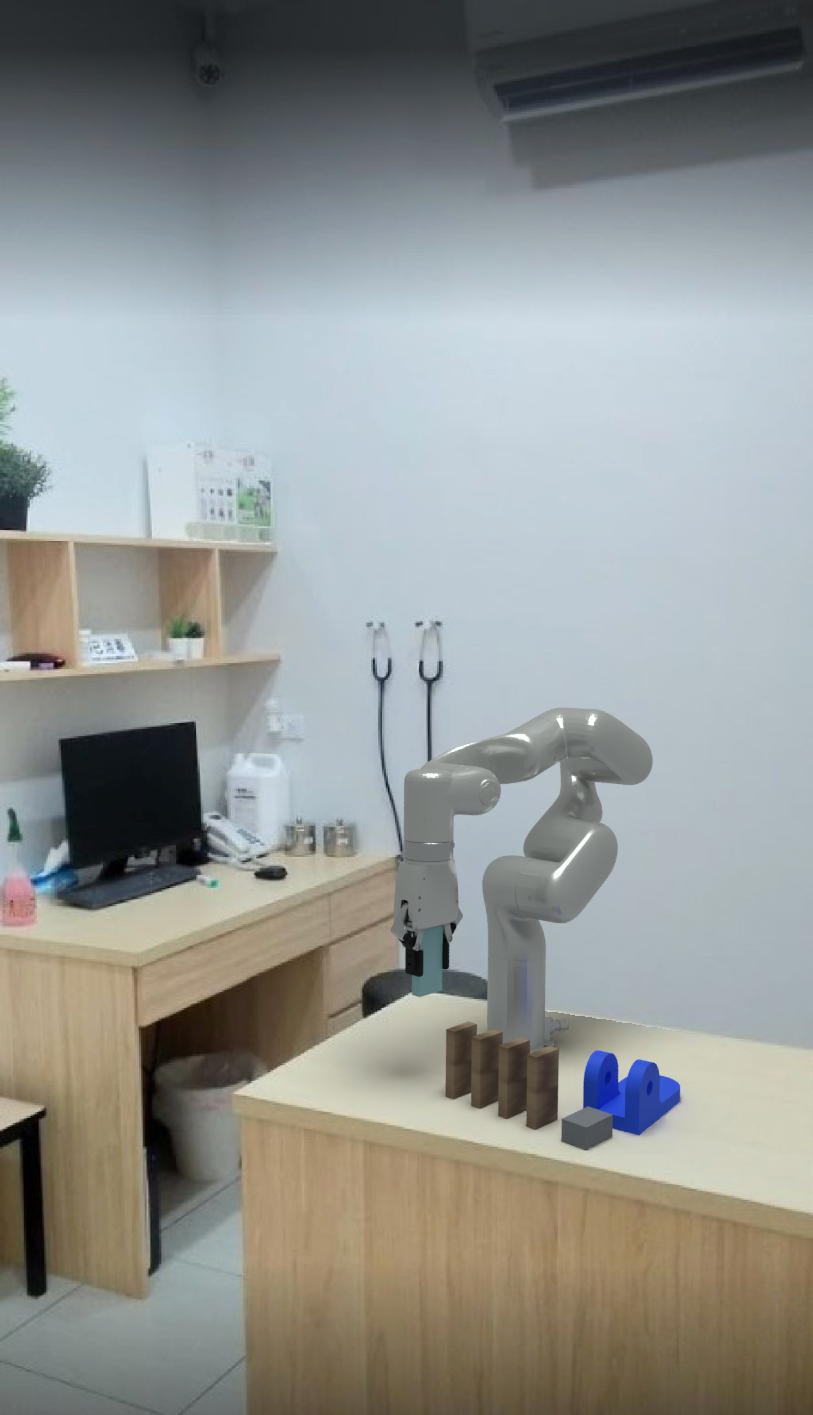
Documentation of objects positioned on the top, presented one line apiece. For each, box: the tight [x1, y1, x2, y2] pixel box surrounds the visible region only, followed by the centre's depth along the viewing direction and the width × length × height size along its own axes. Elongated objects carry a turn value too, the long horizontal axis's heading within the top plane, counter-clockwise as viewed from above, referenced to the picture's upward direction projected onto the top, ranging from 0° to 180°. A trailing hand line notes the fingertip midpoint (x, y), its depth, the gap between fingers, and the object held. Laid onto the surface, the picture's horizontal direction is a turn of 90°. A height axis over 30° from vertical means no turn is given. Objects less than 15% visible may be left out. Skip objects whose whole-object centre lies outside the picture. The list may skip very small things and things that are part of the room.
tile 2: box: [444, 1021, 478, 1101], centre depth 168 cm, size 5×2×10 cm, turn 136°
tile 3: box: [470, 1029, 503, 1110], centre depth 164 cm, size 5×2×10 cm, turn 136°
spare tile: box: [411, 926, 443, 998], centre depth 172 cm, size 5×2×10 cm, turn 136°
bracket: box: [582, 1049, 681, 1136], centre depth 163 cm, size 18×8×9 cm, turn 145°
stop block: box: [560, 1106, 614, 1151], centre depth 152 cm, size 6×4×3 cm, turn 136°
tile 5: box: [525, 1046, 560, 1131], centre depth 157 cm, size 5×2×10 cm, turn 136°
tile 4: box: [497, 1037, 530, 1120], centre depth 161 cm, size 5×2×10 cm, turn 136°
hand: (427, 969), depth 172 cm, fingers closed on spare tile, 5 cm apart
